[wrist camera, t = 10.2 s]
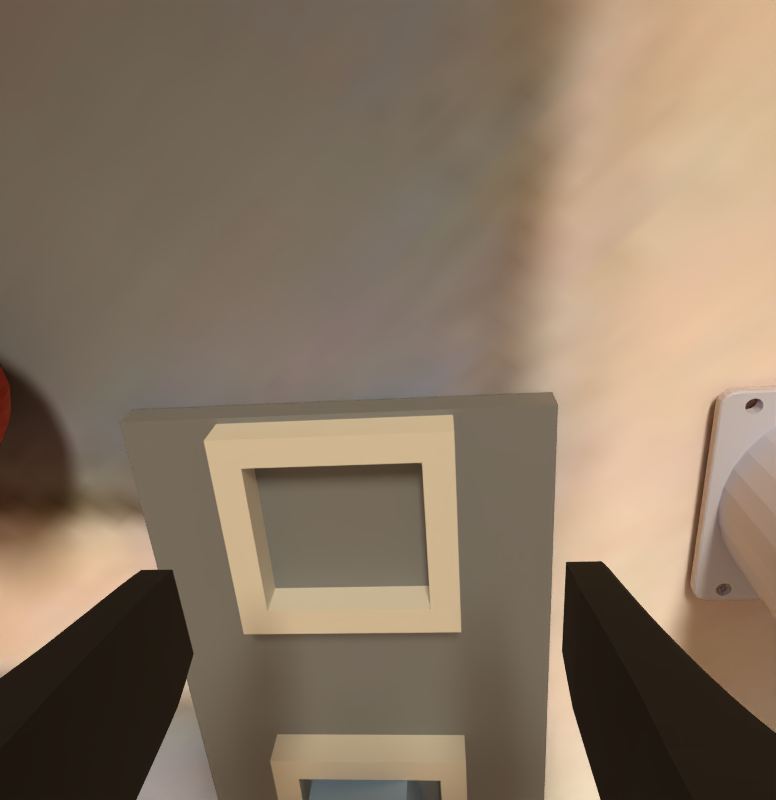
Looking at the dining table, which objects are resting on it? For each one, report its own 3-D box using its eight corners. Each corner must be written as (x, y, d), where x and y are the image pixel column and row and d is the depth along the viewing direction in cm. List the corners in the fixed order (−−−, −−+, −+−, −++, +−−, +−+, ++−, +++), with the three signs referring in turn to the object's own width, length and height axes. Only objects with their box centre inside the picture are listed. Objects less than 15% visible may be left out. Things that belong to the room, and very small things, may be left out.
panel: (552, 392, 20) (565, 421, 18) (538, 838, 29) (546, 891, 27) (132, 409, 21) (101, 438, 19) (239, 832, 30) (225, 883, 28)
